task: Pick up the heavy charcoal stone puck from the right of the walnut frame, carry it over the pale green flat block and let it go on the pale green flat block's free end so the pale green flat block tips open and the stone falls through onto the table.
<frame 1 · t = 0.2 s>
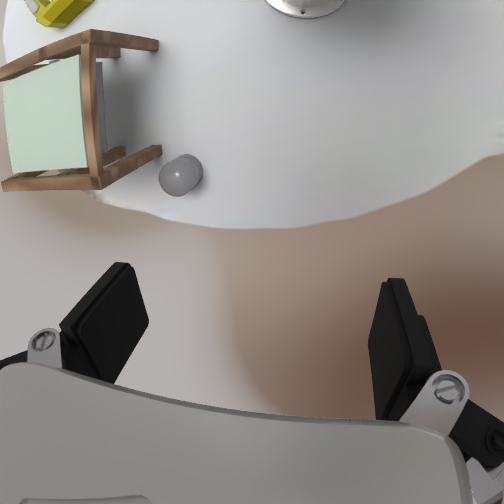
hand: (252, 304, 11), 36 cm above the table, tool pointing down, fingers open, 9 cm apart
pale green flat block: (50, 116, 32), point 13 cm above the table, hinge at 0.0°
frame: (103, 104, 43), on the table
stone: (187, 170, 47), on the table
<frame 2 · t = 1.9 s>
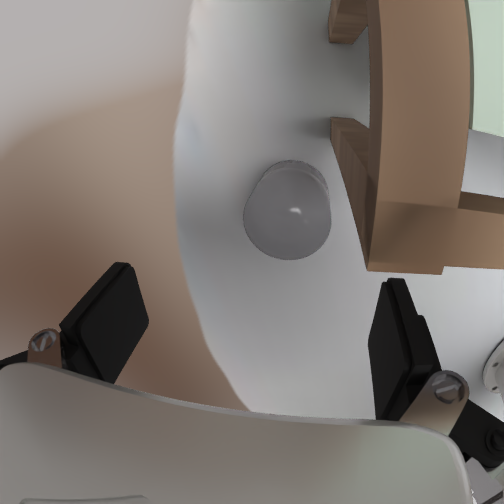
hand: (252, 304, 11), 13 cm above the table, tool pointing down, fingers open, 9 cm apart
frame: (453, 15, 13), on the table
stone: (293, 194, 23), on the table
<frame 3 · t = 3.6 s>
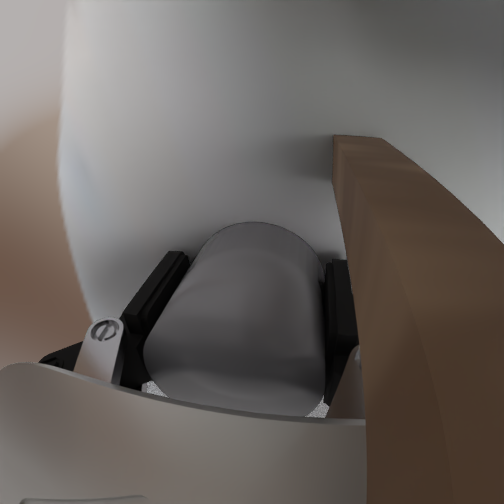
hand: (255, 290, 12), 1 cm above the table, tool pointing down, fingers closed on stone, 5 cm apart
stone: (258, 282, 12), on the table, touching gripper
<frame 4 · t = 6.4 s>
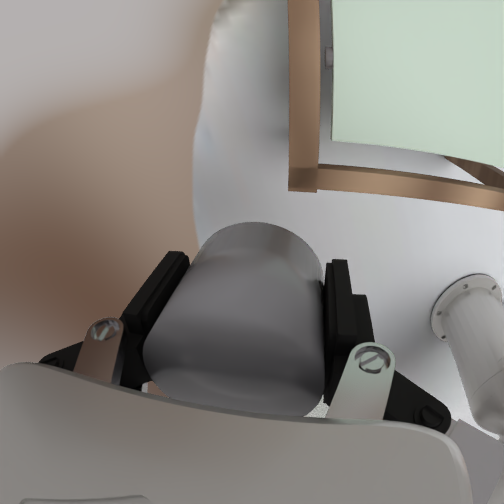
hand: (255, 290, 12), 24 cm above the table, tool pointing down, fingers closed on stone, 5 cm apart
pale green flat block: (432, 35, 14), point 13 cm above the table, hinge at 0.0°
frame: (386, 52, 25), on the table
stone: (257, 282, 12), point 24 cm above the table, touching gripper
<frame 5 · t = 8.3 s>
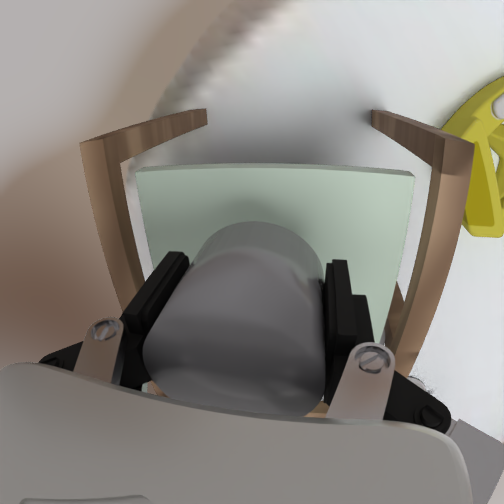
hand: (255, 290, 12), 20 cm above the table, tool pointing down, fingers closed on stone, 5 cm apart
pale green flat block: (275, 281, 20), point 13 cm above the table, hinge at 0.0°
frame: (289, 207, 31), on the table
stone: (258, 281, 12), point 20 cm above the table, touching gripper
when the fingers open (19 cm above the table, at t = 9.3 s): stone drops 13 cm and tips over, point 5 cm above the table.
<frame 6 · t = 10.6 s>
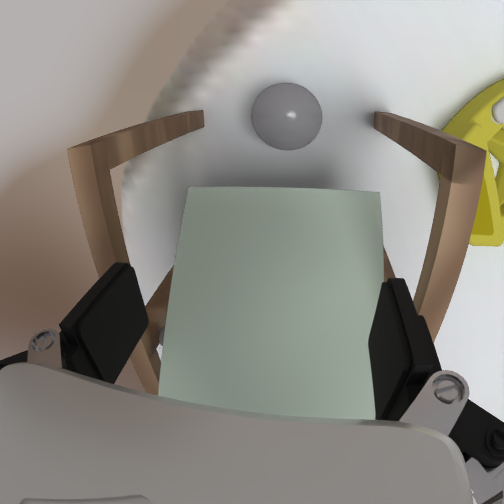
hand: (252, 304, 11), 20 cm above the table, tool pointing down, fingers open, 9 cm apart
pale green flat block: (276, 306, 22), point 11 cm above the table, hinge at -47.2°, touching frame
frame: (288, 212, 30), on the table
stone: (286, 116, 21), point 5 cm above the table, tilted 179°
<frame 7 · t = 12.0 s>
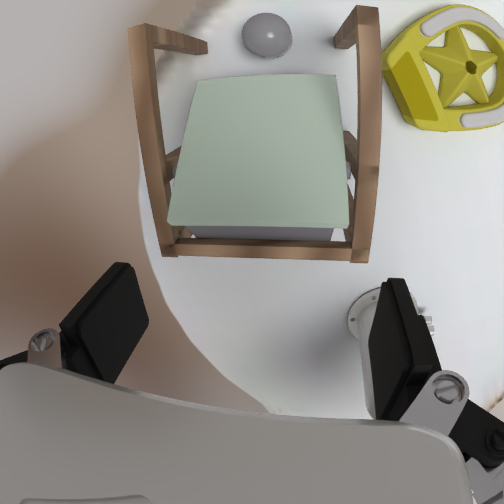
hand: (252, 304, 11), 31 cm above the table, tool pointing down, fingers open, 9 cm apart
pale green flat block: (263, 150, 28), point 11 cm above the table, hinge at -47.2°, touching frame
frame: (273, 113, 36), on the table
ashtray: (453, 68, 28), on the table
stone: (266, 34, 27), point 5 cm above the table, tilted 179°
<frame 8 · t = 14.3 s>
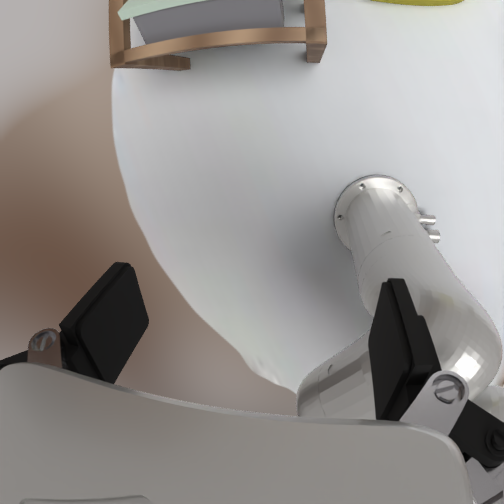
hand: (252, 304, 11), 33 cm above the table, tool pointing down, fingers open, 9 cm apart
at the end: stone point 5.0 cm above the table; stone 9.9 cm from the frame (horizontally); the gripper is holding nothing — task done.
